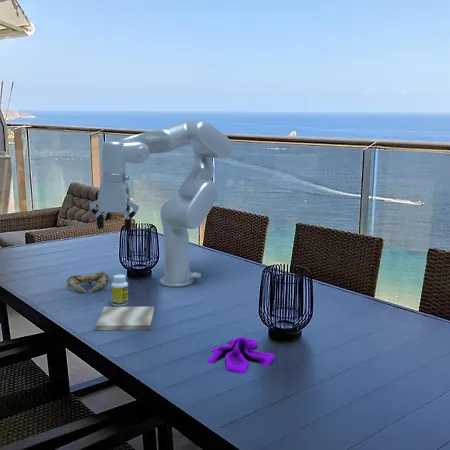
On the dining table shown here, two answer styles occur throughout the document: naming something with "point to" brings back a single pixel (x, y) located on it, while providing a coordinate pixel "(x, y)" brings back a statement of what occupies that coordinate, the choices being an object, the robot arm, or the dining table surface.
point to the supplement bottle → (119, 291)
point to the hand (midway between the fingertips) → (114, 229)
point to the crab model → (88, 281)
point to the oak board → (125, 318)
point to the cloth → (240, 355)
